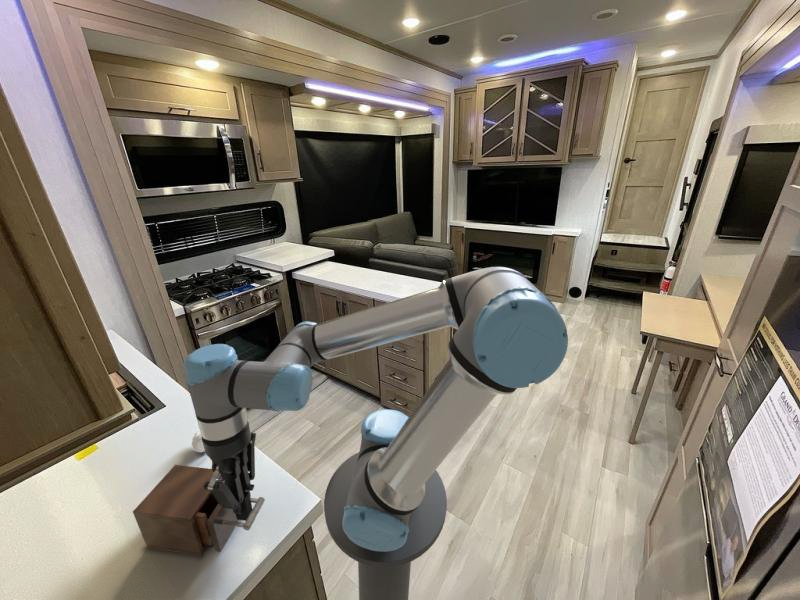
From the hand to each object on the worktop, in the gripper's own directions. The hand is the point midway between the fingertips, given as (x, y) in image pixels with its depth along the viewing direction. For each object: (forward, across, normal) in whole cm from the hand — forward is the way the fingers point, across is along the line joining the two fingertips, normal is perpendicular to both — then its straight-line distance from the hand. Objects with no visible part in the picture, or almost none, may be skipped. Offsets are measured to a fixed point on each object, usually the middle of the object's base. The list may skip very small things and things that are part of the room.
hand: (245, 516), depth 65 cm
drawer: (+4, 0, -5) cm, 7 cm away
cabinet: (+5, 0, -13) cm, 13 cm away
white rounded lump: (+5, -20, -25) cm, 32 cm away
